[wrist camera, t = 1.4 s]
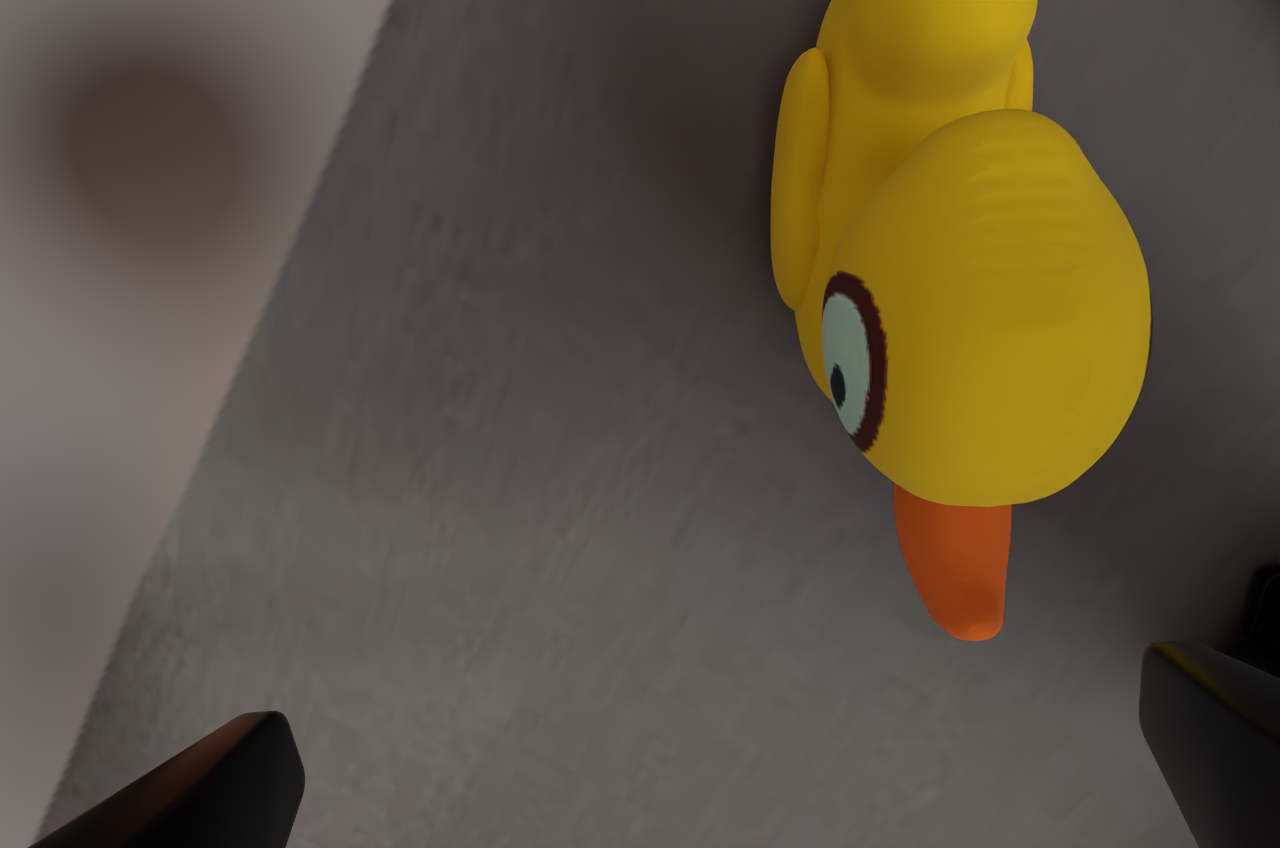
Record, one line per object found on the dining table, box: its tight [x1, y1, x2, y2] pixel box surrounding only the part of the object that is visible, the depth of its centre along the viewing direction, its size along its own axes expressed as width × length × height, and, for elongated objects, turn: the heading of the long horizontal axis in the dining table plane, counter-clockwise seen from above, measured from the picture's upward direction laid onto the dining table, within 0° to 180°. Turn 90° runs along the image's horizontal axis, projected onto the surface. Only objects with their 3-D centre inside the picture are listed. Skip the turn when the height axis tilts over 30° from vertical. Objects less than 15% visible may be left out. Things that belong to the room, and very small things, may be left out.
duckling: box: [771, 0, 1153, 641], centre depth 15 cm, size 11×5×10 cm, turn 3°
